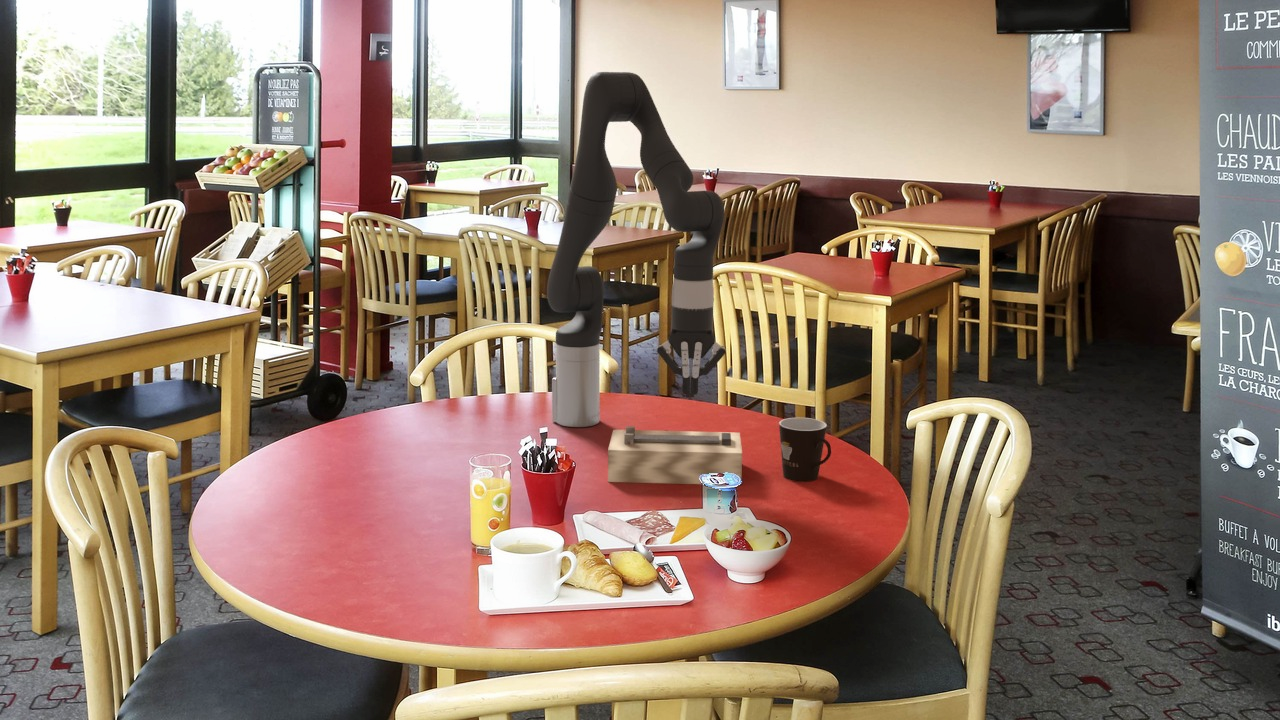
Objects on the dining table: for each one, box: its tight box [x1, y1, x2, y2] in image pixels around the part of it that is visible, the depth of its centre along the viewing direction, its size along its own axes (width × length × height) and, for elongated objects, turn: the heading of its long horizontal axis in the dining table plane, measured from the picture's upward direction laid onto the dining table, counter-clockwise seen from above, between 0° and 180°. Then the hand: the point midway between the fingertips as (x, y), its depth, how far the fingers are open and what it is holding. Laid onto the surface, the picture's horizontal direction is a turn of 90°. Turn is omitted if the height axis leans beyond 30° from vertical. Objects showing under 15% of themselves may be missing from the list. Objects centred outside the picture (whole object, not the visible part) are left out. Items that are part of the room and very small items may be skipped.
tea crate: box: [607, 425, 743, 485], centre depth 213 cm, size 24×13×8 cm, turn 87°
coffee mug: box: [778, 417, 832, 483], centre depth 210 cm, size 12×9×10 cm
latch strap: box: [633, 434, 719, 444], centre depth 213 cm, size 16×3×1 cm, turn 87°
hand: (690, 396), depth 211 cm, fingers closed
